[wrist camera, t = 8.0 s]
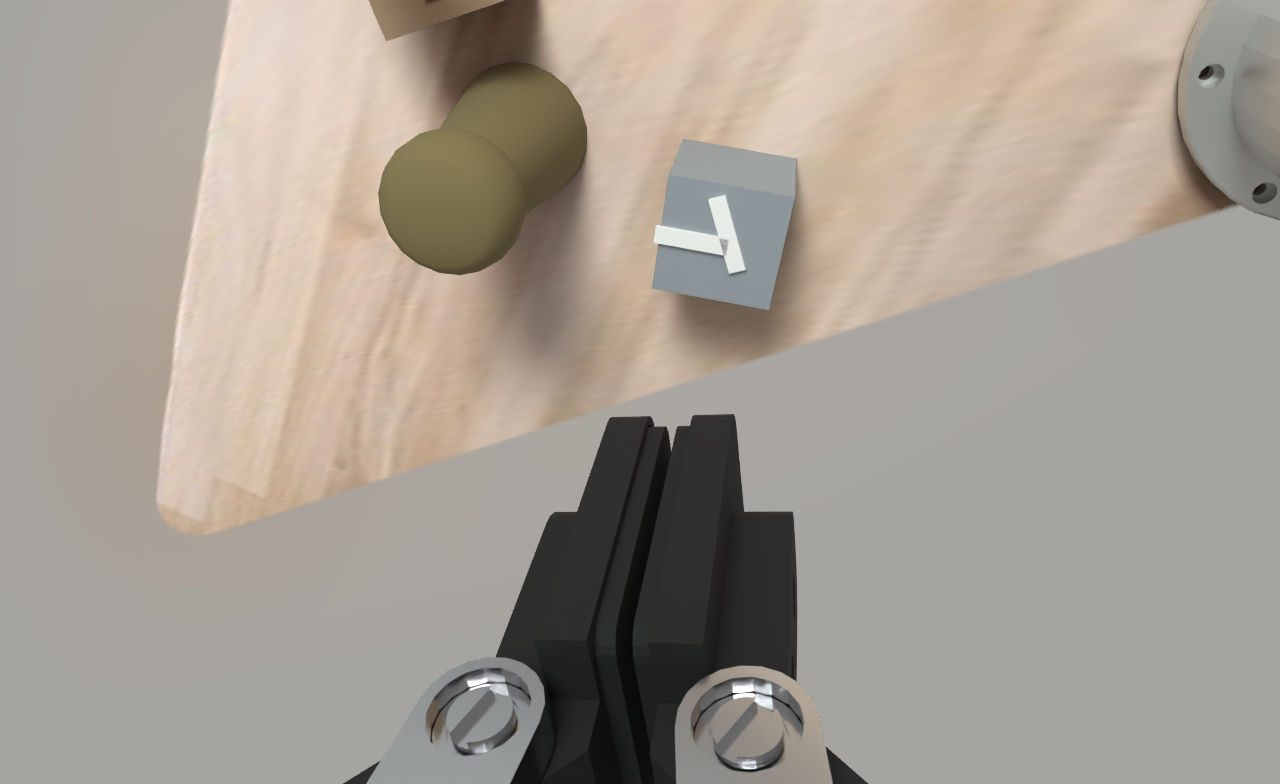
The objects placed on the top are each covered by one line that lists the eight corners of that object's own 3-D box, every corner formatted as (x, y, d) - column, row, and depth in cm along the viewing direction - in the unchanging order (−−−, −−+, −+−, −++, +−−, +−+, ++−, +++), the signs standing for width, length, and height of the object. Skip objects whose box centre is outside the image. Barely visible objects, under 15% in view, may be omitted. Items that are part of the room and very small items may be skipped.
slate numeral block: (796, 158, 38) (794, 198, 34) (772, 262, 41) (768, 312, 37) (679, 137, 39) (663, 175, 34) (663, 242, 42) (646, 289, 37)
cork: (550, 221, 42) (478, 328, 33) (436, 152, 41) (329, 243, 32) (611, 111, 39) (550, 196, 29) (489, 34, 38) (386, 96, 28)
